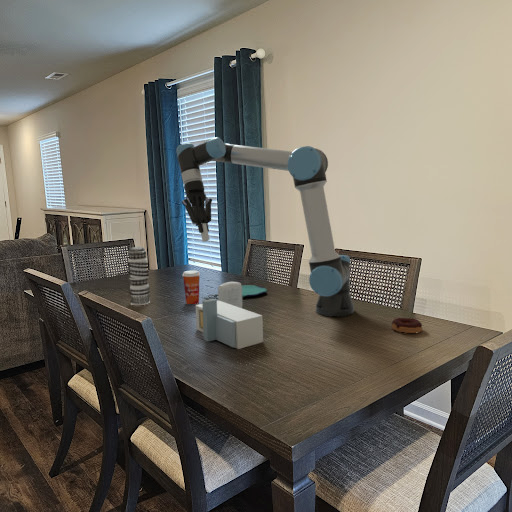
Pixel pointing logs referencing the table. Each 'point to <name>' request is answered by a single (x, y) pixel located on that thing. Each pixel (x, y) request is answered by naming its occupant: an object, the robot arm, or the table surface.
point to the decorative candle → (138, 276)
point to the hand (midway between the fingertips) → (206, 240)
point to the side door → (217, 324)
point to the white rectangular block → (237, 323)
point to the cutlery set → (247, 291)
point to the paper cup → (191, 286)
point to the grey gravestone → (231, 293)
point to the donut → (406, 325)
